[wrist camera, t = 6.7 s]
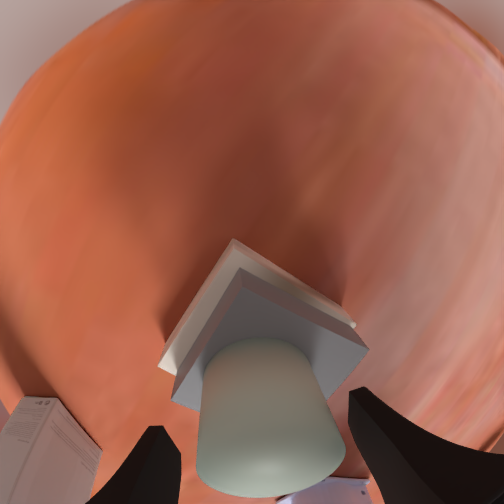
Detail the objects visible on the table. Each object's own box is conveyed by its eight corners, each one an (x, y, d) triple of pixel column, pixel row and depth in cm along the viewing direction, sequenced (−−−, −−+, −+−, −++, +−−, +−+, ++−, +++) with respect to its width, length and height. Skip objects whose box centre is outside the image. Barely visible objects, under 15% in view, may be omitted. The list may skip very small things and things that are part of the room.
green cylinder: (331, 362, 12) (374, 439, 7) (271, 426, 13) (286, 502, 8) (239, 317, 11) (248, 406, 6) (185, 394, 12) (173, 479, 7)
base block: (338, 303, 17) (356, 324, 14) (267, 388, 19) (273, 416, 16) (232, 235, 16) (233, 248, 13) (166, 339, 17) (157, 366, 14)
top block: (350, 326, 14) (369, 349, 12) (280, 410, 16) (287, 438, 13) (239, 266, 13) (242, 286, 11) (177, 370, 14) (170, 400, 12)
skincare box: (23, 394, 17) (-41, 495, 3) (61, 395, 17) (-6, 523, 3) (68, 450, 19) (31, 548, 5) (109, 454, 19) (77, 570, 5)
